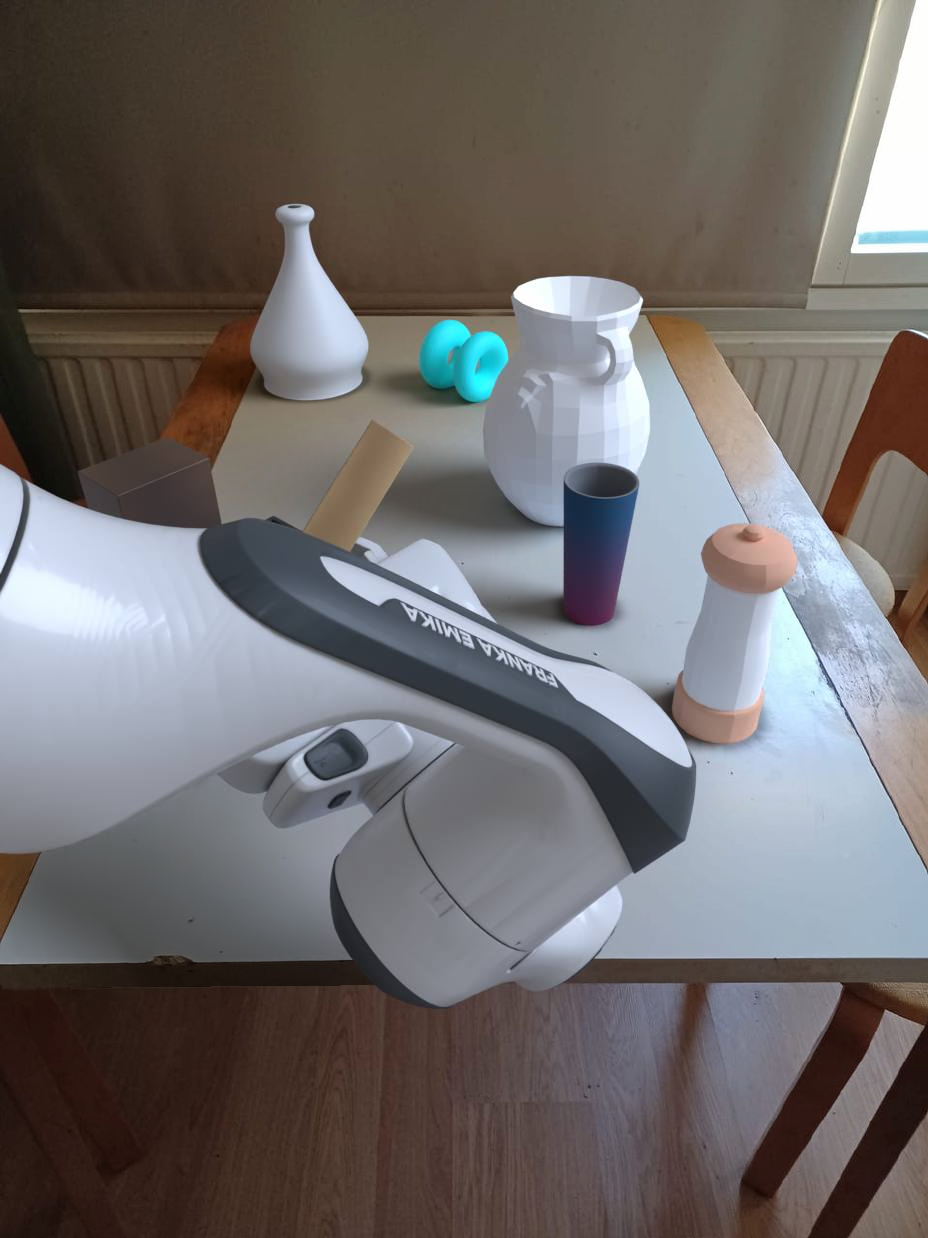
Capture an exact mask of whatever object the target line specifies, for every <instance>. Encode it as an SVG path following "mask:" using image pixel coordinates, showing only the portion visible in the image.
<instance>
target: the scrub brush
mask: <svg viewBox="0 0 928 1238" xmlns="http://www.w3.org/2000/svg"><path fill="white" fill-rule="evenodd" d="M414 448H415V447H414V445H413V444H411V443H409V442H408V441H406V440H405V439H404V438H402V437H400V436H399V435H397V434H395V433H394V432H393V431H391V430H390V429H388V428H387V427H386V426H383V425H382V424H380V423H379V422H377V421H376V420H374V419H371V421H370V422H369V424H368V425H367V427H366V428H365V430H364V432H363V434H362V435H361V437H360V438H359V440H358V442H357V443H356V444H355V447H354V448H353V449H352V451H351V452H350V454H349V456H348V458H347V459H346V461H345V463H344V464H343V465H342V467H341V468H340V470H339V472H338V474H337V475H336V477H335V479H334V480H333V482H332V483H331V485H330V486H329V487H328V490H327V491H326V492H325V495H324V496H323V498H322V500H321V501H320V502H319V504H318V505H317V507H316V508H315V510H314V512H313V513H312V515H311V517H310V518H309V519H308V521H307V523H306V524H305V527H304V528H303V530H301V531H302V532H304V533H306V534H309V535H311V536H314V537H316V538H319V539H321V540H324V541H326V542H329V543H331V544H333V545H335V546H338V547H340V548H342V549H345V550H347V551H349V552H350V551H351V549H352V548H353V546H354V544H355V543H356V541H357V539H358V538H359V536H360V537H361V535H362V533H363V532H364V530H365V528H366V526H367V525H368V523H369V522H370V520H371V518H372V517H373V515H374V514H375V512H376V510H377V508H378V507H379V506H380V504H381V502H382V500H383V499H384V497H385V496H386V494H387V493H388V491H389V489H390V487H391V486H392V484H393V482H394V481H395V480H396V478H397V476H398V474H399V473H400V471H401V469H402V467H403V466H404V464H405V463H406V462H407V460H408V458H409V457H410V454H411V453H412V452H413V450H414Z"/></svg>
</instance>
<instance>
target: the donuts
mask: <svg viewBox="0 0 928 1238" xmlns="http://www.w3.org/2000/svg"><path fill="white" fill-rule="evenodd" d="M451 351H452V354H451V358H450V359H449V355H450V353H451ZM448 360H449V361H448ZM508 360H509V355H508V349H507V346H506V344H505V342H504V340H503V339H502V338H501V337H500V336H499V335H498V334H496V333H495V332H492V331H488V330H487V331H486V330H484V331H479V332H476V333H474V334H471V332H470V330H469V329H468V328H467V326H466V325H464V324H463V323H462V322H460V321H458V320H455V319H445V320H441V321H439V322H437V323H436V324H434V325H433V326H432V327H431V328H430V329H429V331H428V332H427V333H426V335H425V337H424V338H423V340H422V343H421V345H420V349H419V355H418V365H419V370H420V371H419V372H420V374H421V376H422V378H423V379H424V381H425V382H426V383H427V384H428V385H430V387H432V388H435V389H438V390H439V389H440V390H445V389H449V388H452V387H455V389H456V391H457V393H458V394H459V395H460V396H461V398H463V399H464V400H466V401H468V402H470V403H481V402H484V401H486V400H487V401H488V400H489V397H490V395H491V392H492V389H493V387H494V384H495V382H496V380H497V377H498V375H499V373H500V372H501V371H502V369H503V368H504V366H505V365H506V363H507V362H508ZM477 365H478V367H477Z"/></svg>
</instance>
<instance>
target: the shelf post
mask: <svg viewBox="0 0 928 1238" xmlns="http://www.w3.org/2000/svg"><path fill="white" fill-rule="evenodd" d="M210 461H211V460H210V458H209V457H207V456H205V455H204V454H202V453H200V452H198V451H197V450H194V449H193V448H190V447H188V446H187V445H184V444H183V443H180V442H179V441H177V440H176V439H173V438H171V437H170V436H166V437H163V438H161V439H158V440H155V441H153V442H151V443H148V444H145V445H143V446H140V447H137V448H135V449H132V450H130V451H127V452H124V453H122V454H119V455H117V456H116V455H115V456H114V457H111V458H109V459H106V460H103V461H100V462H97V463H95V464H93V465H89V466H87V467H85V468H83V469H80V470H77V475H78V479H79V482H80V485H81V488H82V492H83V496H84V499H85V502H86V506H87V509H90V510H93V511H96V512H99V513H103V514H106V515H110V516H113V517H117V518H121V519H125V520H130V521H135V522H140V523H146V524H152V525H160V526H168V527H179V528H210V527H212V526H216V525H220V524H223V522H222V518H221V513H220V508H219V501H218V497H217V492H216V487H215V482H214V476H213V472H212V467H211V462H210Z"/></svg>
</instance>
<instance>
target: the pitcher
mask: <svg viewBox="0 0 928 1238" xmlns="http://www.w3.org/2000/svg"><path fill="white" fill-rule="evenodd" d="M510 300H511V304H512V309H513V313H514V316H515V320H516V323H517V329H518V333H519V337H520V347H519V348H518V349H517V350H516V352H514V353H513V354H512V355H511V356H510V357H509V358H508V362H507V363H506V365H505V366H504V368H503V369H502V371H501V372H500V373H499V375H498V377H497V380H496V382H495V384H494V387H493V389H492V392H491V395H490V397H489V398H488V399H487V403H486V406H485V410H484V411H485V412H484V420H483V427H482V439H483V442H482V443H483V456H484V458H485V460H486V463H487V465H488V468H489V471H490V473H491V476H492V477H493V479H494V481H495V483H496V484H497V486H498V488H499V489H500V490H501V492H502V493H503V495H504V496H505V497H506V499H507V500H508V501H509V502H510V503H511V504H512V505H513V506H514V507H515V508H516V509H517V510H518V511H519V512H520V513H521V514H522V515H524V516H525V517H526V518H527V519H529V520H531V521H532V522H534V523H537V524H540V525H543V526H548V527H561V528H564V475H565V473H566V472H567V471H568V470H569V469H571V468H572V467H575V466H577V465H581V464H585V463H596V462H599V463H610V464H615V465H619V466H622V467H625V468H627V469H629V470H631V471H632V472H633V473H635V475H636V476H637V473H638V470H639V469H640V467H641V465H642V462H643V459H644V458H645V455H646V452H647V448H648V443H649V438H650V433H651V408H650V405H651V404H650V400H649V397H648V394H647V391H646V388H645V384H644V381H643V378H642V375H641V374H640V372H639V370H638V368H637V366H636V363H635V360H634V350H633V349H634V348H633V344H632V341H631V338H630V334H631V332H632V330H633V329H634V327H635V325H636V324H637V322H638V318H639V316H640V312H641V309H642V306H643V302H644V299H643V297H642V295H641V294H640V293H639V291H638V290H637V289H636V288H635V287H633V286H632V285H630V284H627V283H624V282H622V281H618V280H614V279H610V278H603V277H598V276H597V277H596V276H584V275H583V276H582V275H579V276H578V275H566V276H565V275H564V276H563V275H561V276H548V277H547V276H546V277H541V278H536V279H533V280H529V281H527V282H525V283H523V284H519V285H518V286H517V287H516V288H515V290H514V291H513V293H512V294H511V295H510Z"/></svg>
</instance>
